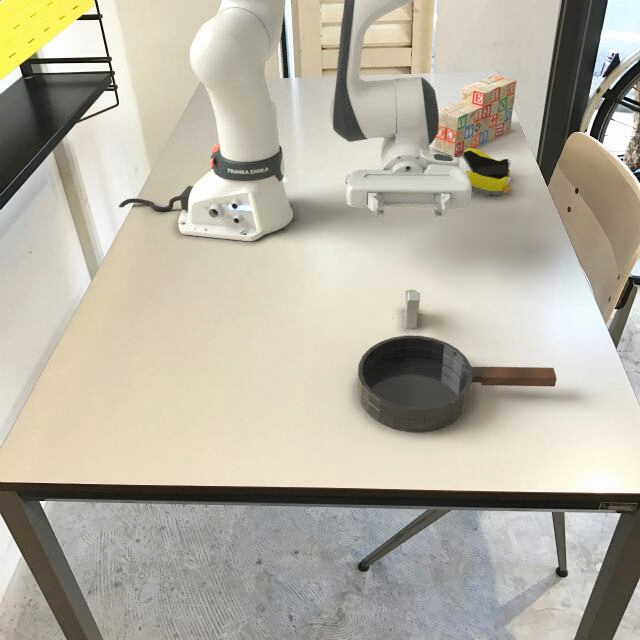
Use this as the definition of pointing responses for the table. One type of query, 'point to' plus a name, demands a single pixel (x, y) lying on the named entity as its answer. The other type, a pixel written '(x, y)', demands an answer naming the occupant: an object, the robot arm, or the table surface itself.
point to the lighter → (411, 308)
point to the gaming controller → (487, 173)
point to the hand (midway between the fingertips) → (409, 212)
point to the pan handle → (514, 376)
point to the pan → (414, 383)
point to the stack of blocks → (476, 115)
